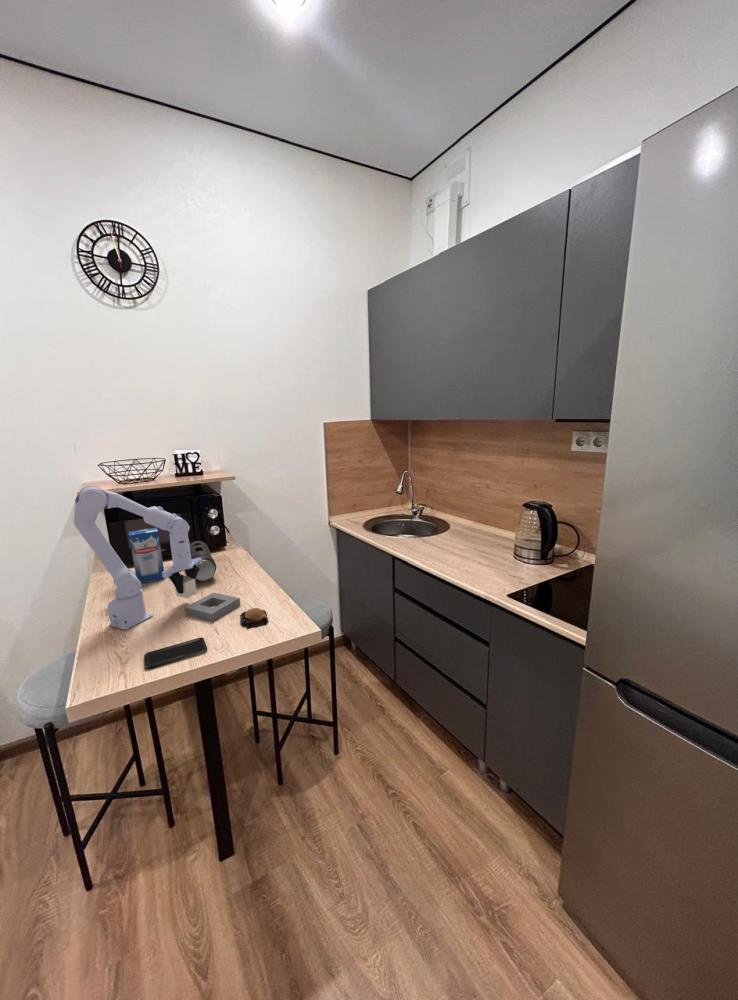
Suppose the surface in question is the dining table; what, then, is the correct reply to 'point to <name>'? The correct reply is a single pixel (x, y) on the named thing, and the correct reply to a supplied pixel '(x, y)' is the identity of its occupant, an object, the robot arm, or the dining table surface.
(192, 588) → the plug
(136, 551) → the milk carton
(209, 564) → the muzzle brake
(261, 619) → the bread roll
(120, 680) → the dining table surface
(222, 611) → the socket block
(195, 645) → the phone
